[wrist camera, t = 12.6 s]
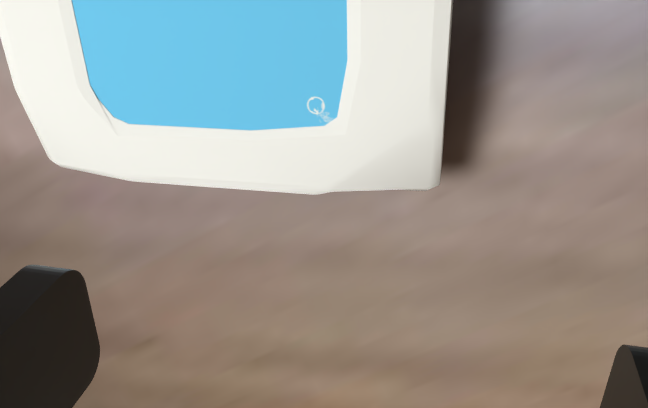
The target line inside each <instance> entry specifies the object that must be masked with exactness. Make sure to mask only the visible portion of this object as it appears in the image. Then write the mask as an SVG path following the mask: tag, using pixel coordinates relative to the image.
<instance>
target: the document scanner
mask: <svg viewBox="0 0 648 408" xmlns="http://www.w3.org/2000/svg"><path fill="white" fill-rule="evenodd" d="M452 11H453V0H0V37H1V41H2V44H3V48H4V51H5V55H6V59H7V62H8V66H9V69H10V73H11V77H12V80H13V84H14V87H15V90H16V92H17V94H18V96H19V98H20V100H21V102H22V104H23V106H24V108H25V110H26V113H27V115H28V117H29V119H30V121H31V123H32V125H33V127H34V129H35V131H36V133H37V135H38V137H39V139H40V141H41V143H42V145H43V147H44V149H45V151H46V154H47V156H48V158H49V159H51V160H52V161H53V162H54V163H56V164H57V165H59V166H61V167H64V168H69V169H74V170H79V171H84V172H88V173H93V174H98V175H103V176H108V177H113V178H118V179H123V180H128V181H135V182H149V183H162V184H176V185H189V186H203V187H217V188H231V189H244V190H258V191H272V192H286V193H299V194H313V195H317V194H322V193H328V192H335V191H367V190H413V191H427V190H429V189H431V188H434V187H436V186H438V185H440V177H441V168H442V154H443V139H444V125H445V110H446V96H447V83H448V70H449V55H450V41H451V26H452Z"/></svg>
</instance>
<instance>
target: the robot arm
mask: <svg viewBox="0 0 648 408" xmlns="http://www.w3.org/2000/svg"><path fill="white" fill-rule="evenodd" d="M99 357H100V345H99V340H98V335H97V331H96V327H95V322H94V318H93V314H92V309H91V305H90V301H89V296H88V292H87V287H86V283H85V280H84V278H83V276H82V275H81V273H79V272H78V271H76V270H70V269H63V268H55V267H48V266H40V265H28V266H26V267H24V268H22V269H21V270H20V271H19V272H17V273H16V274H15V275H14V276H13V277H12V278H11V279H10V280H8V281H7V282H6V283H5V284H4V285H3V286H2V287H1V288H0V408H72V407H73V406H74V405H75V403H76V402H77V401H78V399H79V398H80V396H81V395H82V394H83V392H84V391H85V390H86V388H87V387H88V386H89V384H90V383H91V381H92V379H93V377H94V375H95V373H96V370H97V367H98V362H99ZM600 408H648V348H646V347H638V346H630V345H622V346H621V347H620V348H619V349H618V351H617V353H616V356H615V359H614V362H613V366H612V369H611V372H610V376H609V379H608V382H607V386H606V389H605V392H604V396H603V399H602V402H601V406H600Z"/></svg>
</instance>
